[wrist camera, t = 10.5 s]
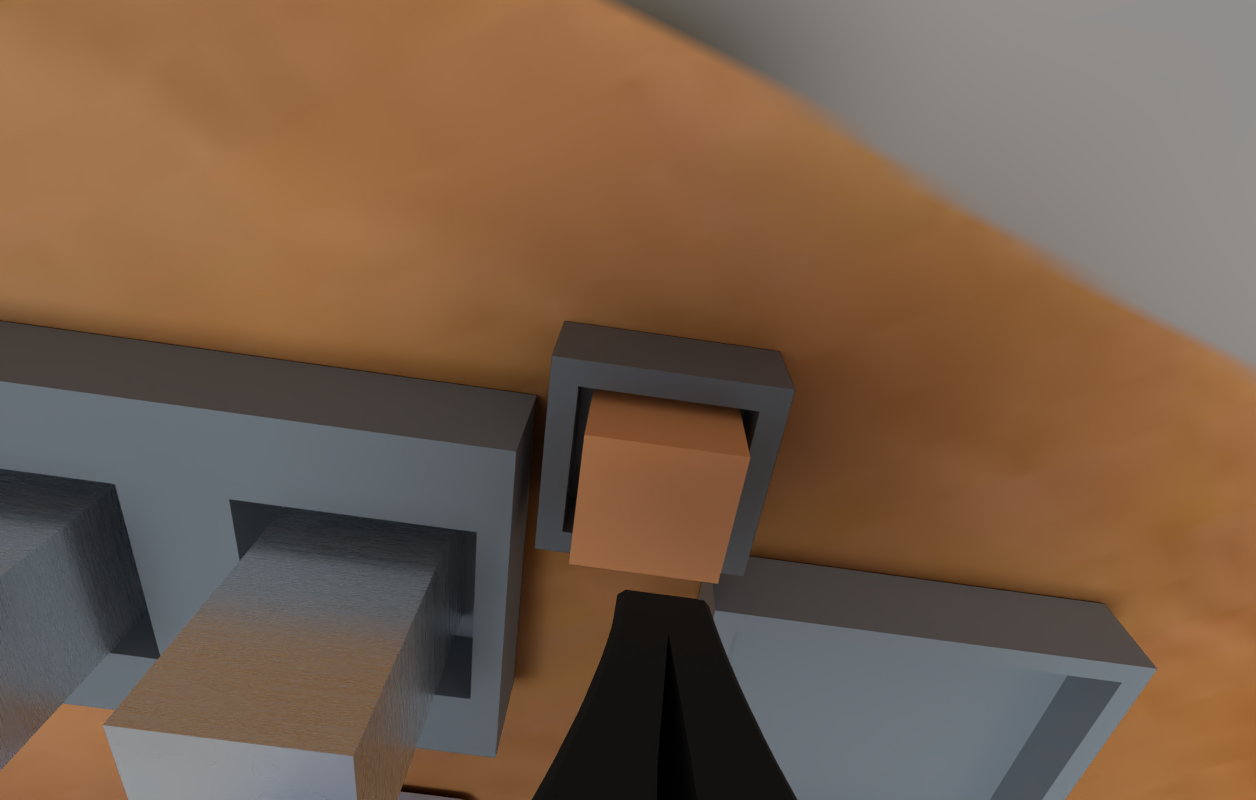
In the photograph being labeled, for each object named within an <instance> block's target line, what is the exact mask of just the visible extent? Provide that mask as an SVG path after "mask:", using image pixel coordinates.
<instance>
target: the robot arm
mask: <svg viewBox="0 0 1256 800" xmlns="http://www.w3.org/2000/svg"><path fill="white" fill-rule="evenodd" d="M398 800H463V799H458V798H450V797H442V796H434V795H426V794H418V793H410V792H402V791H400V794H399V797H398ZM532 800H797V798H796V796H795V794H794V792H793V791H792V789H791V787H790V785H789V783H788V781H787V780H786V778H785V776H784V774H783V772H782V770H781V769H780V767H779V765H778V763H777V761H776V759H775V757H774V755H773V753H772V751H771V749H770V748H769V746H768V744H767V742H766V740H765V738H764V736H763V734H762V732H761V729H760V727H759V725H758V723H757V721H756V719H755V717H754V715H753V713H752V711H751V709H750V707H749V704H748V702H747V700H746V698H745V696H744V694H743V692H742V689H741V687H740V685H739V683H738V680H737V678H736V676H735V673H734V671H733V669H732V666H731V664H730V661H729V659H728V657H727V654H726V652H725V649H724V647H723V644H722V641H721V639H720V636H719V633H718V631H717V628H716V625H715V622H714V619H713V616H712V613H711V610H710V607H709V606H708V605H707V603H706V602H705V601H704V600H699V599H691V598H684V597H676V596H669V595H661V594H654V593H646V592H638V591H631V590H625V591H623V592H621V593H619V594H618V595H617V601H616V607H615V613H614V619H613V624H612V628H611V631H610V634H609V638H608V641H607V644H606V646H605V649H604V652H603V655H602V658H601V661H600V663H599V665H598V668H597V670H596V673H595V675H594V677H593V680H592V682H591V684H590V687H589V689H588V692H587V694H586V696H585V699H584V701H583V703H582V705H581V707H580V710H579V712H578V714H577V716H576V718H575V720H574V722H573V724H572V726H571V728H570V730H569V732H568V734H567V736H566V738H565V740H564V742H563V744H562V745H561V747H560V749H559V751H558V753H557V755H556V757H555V759H554V761H553V763H552V765H551V767H550V768H549V770H548V772H547V774H546V776H545V777H544V779H543V781H542V783H541V785H540V786H539V788H538V790H537V792H536V793H535V795H534V797H533V798H532Z"/></svg>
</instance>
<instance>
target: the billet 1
mask: <svg viewBox="0 0 1256 800" xmlns="http://www.w3.org/2000/svg"><path fill="white" fill-rule="evenodd" d="M147 611H148V608H147V604H146V600H145V596H144V593H143V589H142V585H141V581H140V577H139V574H138V570H137V566H136V562H135V558H134V555H133V551H132V547H131V543H130V539H129V536H128V532H127V528H126V524H125V520H124V517H123V513H122V509H121V505H120V501H119V498H118V494H117V490H116V486H115V484H111V483H104V482H96V481H89V480H81V479H74V478H66V477H59V476H51V475H44V474H36V473H29V472H21V471H14V470H6V469H0V771H1V769H2V768H3V767H4V766H5V765H6V764H7V763H8V762H9V761H10V760H11V759H12V758H13V756H14V755H15V754H16V753H17V752H18V751H19V750H20V749H21V748H22V747H23V746H24V745H25V743H26V742H27V741H28V740H29V739H30V738H31V737H32V736H33V735H34V734H35V733H36V732H37V730H38V729H39V728H40V727H41V726H42V725H43V724H44V723H45V722H46V721H47V720H48V719H49V717H50V716H51V715H52V714H53V713H54V712H55V711H56V710H57V709H58V708H59V707H60V706H61V704H62V703H63V702H64V701H65V700H66V699H67V698H68V697H69V696H70V695H71V694H72V693H73V692H74V690H75V689H76V688H77V687H78V686H79V685H80V684H81V683H82V682H83V681H84V680H85V679H86V677H87V676H88V675H89V674H90V673H91V672H92V671H93V670H94V669H95V668H96V667H97V666H98V664H99V663H100V662H101V661H102V660H103V659H104V658H105V657H106V656H107V655H108V654H109V653H110V651H111V650H112V649H113V648H114V647H115V646H116V645H117V644H118V643H119V642H120V641H121V640H122V638H123V637H124V636H125V635H126V634H127V633H128V632H129V631H130V630H131V629H132V628H133V627H134V625H135V624H136V623H137V622H138V621H139V620H140V619H141V618H142V617H143V616H144V615H145V614H146V612H147Z"/></svg>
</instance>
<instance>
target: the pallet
mask: <svg viewBox="0 0 1256 800" xmlns="http://www.w3.org/2000/svg"><path fill="white" fill-rule="evenodd" d="M536 396H537V395H531V394H523V393H516V392H509V391H502V390H494V389H487V388H480V387H473V386H466V385H458V384H451V383H444V382H437V381H429V380H422V379H415V378H408V377H401V376H393V375H386V374H379V373H372V372H364V371H357V370H350V369H343V368H336V367H328V366H321V365H314V364H307V363H300V362H292V361H285V360H278V359H271V358H263V357H256V356H249V355H242V354H235V353H227V352H220V351H213V350H206V349H198V348H191V347H184V346H177V345H170V344H162V343H155V342H148V341H141V340H133V339H126V338H119V337H112V336H105V335H97V334H90V333H83V332H76V331H68V330H61V329H54V328H47V327H40V326H32V325H25V324H18V323H11V322H4V321H0V469H6V470H14V471H21V472H29V473H36V474H44V475H51V476H59V477H66V478H74V479H81V480H89V481H96V482H104V483H111V484H115V486H116V490H117V494H118V498H119V501H120V505H121V509H122V513H123V517H124V520H125V524H126V528H127V532H128V536H129V539H130V543H131V547H132V551H133V555H134V558H135V562H136V566H137V570H138V574H139V577H140V581H141V585H142V589H143V593H144V596H145V600H146V604H147V608H148V611H147V612H146V614H145V615H144V616H143V617H142V618H141V619H140V620H139V621H138V622H137V623H136V624H135V625H134V627H133V628H132V629H131V630H130V631H129V632H128V633H127V634H126V635H125V636H124V637H123V638H122V640H121V641H120V642H119V643H118V644H117V645H116V646H115V647H114V648H113V649H112V650H111V651H110V653H109V654H108V655H107V656H106V657H105V658H104V659H103V660H102V661H101V662H100V663H99V664H98V666H97V667H96V668H95V669H94V670H93V671H92V672H91V673H90V674H89V675H88V676H87V677H86V679H85V680H84V681H83V682H82V683H81V684H80V685H79V686H78V687H77V688H76V689H75V690H74V692H73V693H72V694H71V695H70V696H69V697H68V698H67V699H66V700H65V701H64V702H63V703H64V704H72V705H80V706H88V707H96V708H104V709H112V710H116V709H117V707H118V706H119V705H120V704H121V703H122V701H123V700H124V699H125V698H126V697H127V695H128V694H129V693H130V692H131V691H132V689H133V688H134V687H135V686H136V685H137V683H138V682H139V681H140V680H141V679H142V677H143V676H144V675H145V674H146V673H147V671H148V670H149V669H150V668H151V667H152V665H153V664H154V663H155V662H156V661H157V659H158V658H159V657H160V656H161V655H162V653H163V652H164V651H165V650H166V649H167V647H168V646H169V645H170V644H171V643H172V641H173V640H174V639H175V638H176V637H177V635H178V634H179V633H180V632H181V631H182V629H183V628H184V627H185V626H186V625H187V623H188V622H189V621H190V620H191V619H192V617H193V616H194V615H195V614H196V613H197V611H198V610H199V609H200V608H201V607H202V605H203V604H204V603H205V602H206V601H207V599H208V598H209V597H210V596H211V595H212V593H213V592H214V591H215V590H216V589H217V587H218V586H219V585H220V584H221V583H222V581H223V580H224V579H225V578H226V577H227V575H228V574H229V573H230V572H231V571H232V569H233V568H234V567H235V566H236V565H237V563H238V562H239V561H240V560H241V559H242V557H243V556H244V555H245V554H246V553H247V551H248V550H249V549H250V548H251V547H252V545H253V544H254V543H255V542H256V541H257V539H258V538H259V537H260V536H261V535H262V533H263V532H264V531H265V530H266V529H267V527H268V526H269V525H270V524H271V523H272V521H273V520H274V519H275V518H276V517H277V515H278V514H279V513H280V512H281V511H282V509H283V508H284V507H291V508H299V509H306V510H314V511H321V512H329V513H336V514H343V515H351V516H358V517H366V518H373V519H381V520H388V521H396V522H403V523H411V524H418V525H426V526H433V527H441V528H448V529H456V530H463V531H465V536H464V574H463V613H462V619H461V621H460V624H459V627H458V630H457V633H456V635H455V638H454V641H453V644H452V647H451V650H450V652H449V655H448V658H447V661H446V664H445V667H444V669H443V672H442V675H441V678H440V681H439V684H438V686H437V689H436V692H435V695H434V698H433V701H432V703H431V706H430V709H429V712H428V715H427V718H426V720H425V723H424V726H423V729H422V732H421V735H420V737H419V740H418V743H417V746H416V748H422V749H430V750H438V751H446V752H453V753H461V754H469V755H477V756H485V757H493V758H496V754H497V750H498V745H499V741H500V737H501V733H502V728H503V724H504V720H505V715H506V711H507V707H508V703H509V698H510V694H511V690H512V686H513V681H514V672H515V659H516V647H517V634H518V622H519V609H520V597H521V584H522V571H523V559H524V546H525V534H526V521H527V509H528V496H529V484H530V471H531V459H532V446H533V433H534V421H535V408H536Z"/></svg>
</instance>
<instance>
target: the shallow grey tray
mask: <svg viewBox="0 0 1256 800" xmlns="http://www.w3.org/2000/svg"><path fill="white" fill-rule="evenodd" d="M698 599H699V600H704V601H705V602H706V603H707V605H708V606H709V607H710V610H711V613H712V616H713V619H714V622H715V625H716V628H717V631H718V633H719V636H720V639H721V641H722V644H723V647H724V649H725V652H726V654H727V657H728V659H729V661H730V664H731V666H732V669H733V671H734V673H735V676H736V678H737V680H738V683H739V685H740V687H741V689H742V692H743V694H744V696H745V698H746V700H747V702H748V704H749V707H750V709H751V711H752V713H753V715H754V717H755V719H756V721H757V723H758V725H759V727H760V729H761V732H762V734H763V736H764V738H765V740H766V742H767V744H768V746H769V748H770V749H771V751H772V753H773V755H774V757H775V759H776V761H777V763H778V765H779V767H780V769H781V770H782V772H783V774H784V776H785V778H786V780H787V781H788V783H789V785H790V787H791V789H792V791H793V792H794V794H795V796H796V798H797V800H1065V799H1066V797H1067V796H1068V794H1069V793H1070V792H1071V790H1072V789H1073V787H1074V786H1075V784H1076V783H1077V782H1078V780H1079V779H1080V777H1081V776H1082V775H1083V773H1084V772H1085V770H1086V769H1087V768H1088V766H1089V765H1090V763H1091V762H1092V760H1093V759H1094V758H1095V756H1096V755H1097V753H1098V752H1099V751H1100V749H1101V748H1102V746H1103V745H1104V744H1105V742H1106V741H1107V739H1108V738H1109V736H1110V735H1111V734H1112V732H1113V731H1114V729H1115V728H1116V727H1117V725H1118V724H1119V722H1120V721H1121V720H1122V718H1123V717H1124V715H1125V714H1126V712H1127V711H1128V710H1129V708H1130V707H1131V705H1132V704H1133V703H1134V701H1135V700H1136V698H1137V697H1138V696H1139V694H1140V693H1141V691H1142V690H1143V688H1144V687H1145V686H1146V684H1147V683H1148V681H1149V680H1150V679H1151V677H1152V676H1153V674H1154V673H1155V671H1156V670H1157V668H1156V667H1155V665H1154V664H1153V663H1152V662H1151V660H1150V659H1149V658H1148V657H1147V656H1146V654H1145V653H1144V652H1143V651H1142V649H1141V648H1140V647H1139V646H1138V644H1137V643H1136V642H1135V641H1134V640H1133V638H1132V637H1131V636H1130V635H1129V633H1128V632H1127V631H1126V630H1125V628H1124V627H1123V626H1122V625H1121V624H1120V622H1119V621H1118V620H1117V619H1116V617H1115V616H1114V615H1113V614H1112V612H1111V611H1110V610H1109V609H1108V608H1107V606H1106V605H1105V604H1102V603H1094V602H1087V601H1079V600H1072V599H1064V598H1057V597H1049V596H1042V595H1034V594H1027V593H1019V592H1012V591H1004V590H997V589H990V588H982V587H975V586H967V585H960V584H952V583H945V582H937V581H930V580H922V579H915V578H907V577H900V576H892V575H885V574H878V573H870V572H863V571H855V570H848V569H840V568H833V567H825V566H818V565H810V564H803V563H795V562H788V561H781V560H773V559H766V558H758V557H751V556H749V558H748V562H747V565H746V569H745V573H744V576H738V575H731V574H723V573H721V574H720V578H719V582H718V584H715V583H708V582H702V583H701V588H700V592H699V596H698Z"/></svg>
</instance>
